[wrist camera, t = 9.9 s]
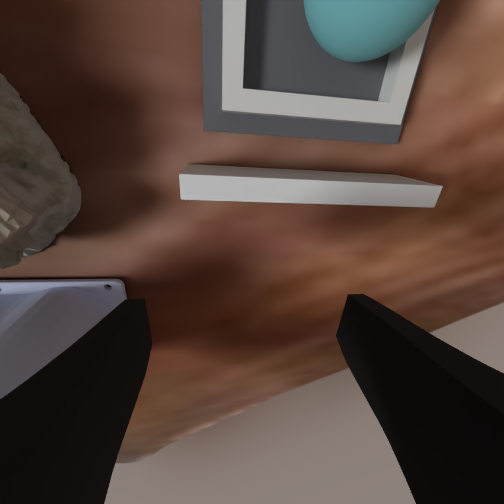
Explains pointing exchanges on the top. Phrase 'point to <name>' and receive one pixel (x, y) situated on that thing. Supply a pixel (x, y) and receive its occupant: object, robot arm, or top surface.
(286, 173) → the wall
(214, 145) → the top surface
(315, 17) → the ball
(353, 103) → the mat
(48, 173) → the jagged rock
